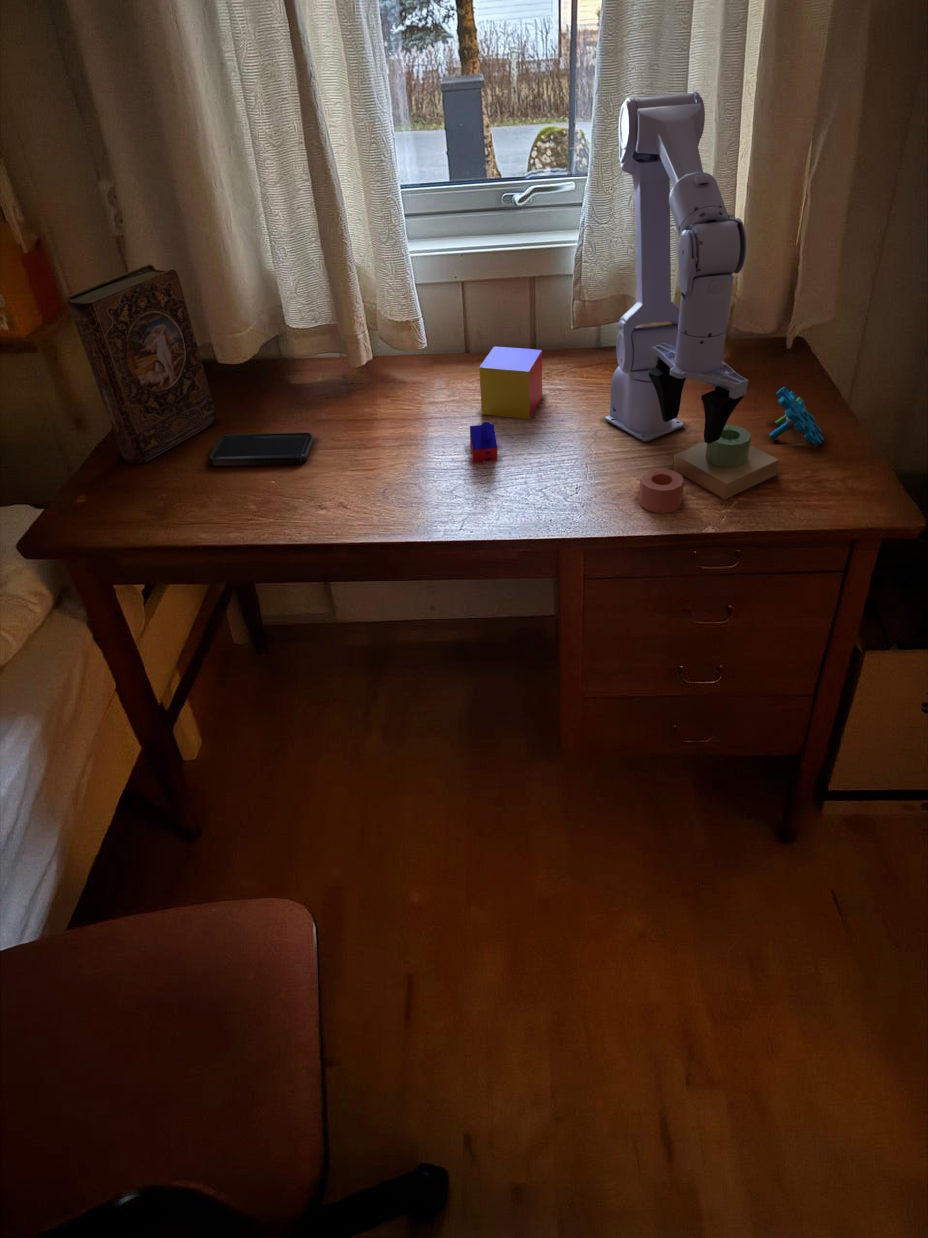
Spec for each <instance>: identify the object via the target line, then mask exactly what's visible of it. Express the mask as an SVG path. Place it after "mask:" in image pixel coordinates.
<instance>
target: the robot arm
mask: <svg viewBox="0 0 928 1238" xmlns="http://www.w3.org/2000/svg"><path fill="white" fill-rule="evenodd" d="M705 110H706V109H705V103H704V100H703V98H702V96H701V94H700V93H699V92H698V91H696V90H693V91H690V92H688V93H687V92H685V93H673V94H666V95H665V94H664V95H653V96H643V97H633V96H630V97H629V96H628V97H626V99H625V100H624V102H623V103H622V105H621V107H620V111H619V119H618V150H619V151H618V157H619V162H620V170H621V172H622V171H623V172H624V173H627V174H628V175H631V178H632V183H633V184H632V185H633V190H634V225H635V228H634V229H635V230H634V231H635V269H636V272H635V273H636V274H635V276H636V277H635V278H636V302H635V303H634V304H633V306H632V307H630V308H629V309H628V310H627V311H626V312H625V313H624V314H623V315H622V316H621V317H620V318H619V320H618V323H617V336H616V345H615V346H616V347H615V349H616V361H617V364H618V366H617V368H616V369H615V370H614V372H613V375H612V378H611V382H610V397H609V398H610V399H609V401H610V402H609V403H610V404H609V414H608V415H606V416H605V418H604V420H605V421H606V422H608V423H610V424H612V425H614V426H615V427H617V428H618V429H620V430H622V431H624V432H626V433H628V434H630V435H631V436H633V437H635V438H637V439H638V440H640V441H642V442H645V443H647V442H649V441H652V440H655V439H657V438H659V437H662V436H664V435H666V434H669V433H672V432H674V431H676V430H679V429H681V428H683V427H684V425H685V424H684V422H683V421H680V420H679V419H677V418H678V415H679V412H680V410H681V409H680V408H681V401H682V393H683V389H684V386H685V382H686V379H690V380H695V381H699V382H703V383H705V384H707V385H710V386H711V387H714V390H711V391H708V392H705V393H704V394H701V396H700V397H701V398H700V399H701V401H702V405H703V409H704V410H703V411H704V427H703V428H704V429H703V440H704V441H703V442H705V443H707V444H710V443H712V442H715V441H717V440H719V439H720V436H721V434H722V431H723V429H724V427H725V425H727V423H728V420H729V418H730V417H731V415H732V413H733V412H734V410H735V409H736V407H737V406H738V405H739V404H740V403H741V402H742V399H744V397H745V396H746V395H747V390H748V385H749V379H747V378H745V377H744V376H742V375H740V374H739V373H738V372H736V371H735V370H734V368H732V367H731V366H730V365H728V364H727V363H726V362H725V361H724V360H723V359H724V352H725V343H726V337H727V329H728V321H729V314H730V308H731V298H732V293H733V286H734V285H733V284H734V277H735V276H734V275H733V274H739V273H740V272H741V271H742V270H743V267H744V264H745V262H746V256H747V234H746V229H745V226H744V222H743V220H742V219H741V218H738V217H735V214H729V213H728V211H727V207H726V205H725V202H724V200H723V199H724V198H723V197H722V194H721V190H720V188H719V185H718V181H717V180H716V178H715V177H714V176H713V175H712V174H710V173H708V172H704V168H703V163H702V159H701V154H700V150H699V145H700V141H701V139H702V137H703V134H704V129H705V121H706V111H705ZM671 185H672V188H671ZM671 214H672V218H673V221H674V224H675V227H676V231H677V235H678V237H679V239H678V240H679V241H678V244H677V263H678V281H677V282H678V289H679V290H680V291H681V293H680V302H679V303H680V304H679V306H678V305H677V304H676V303H674V302H673V301H672V281H671V280H672V270H671V268H672V267H671V266H672V265H671V262H672V261H671V260H672V259H671V252H672V251H671ZM667 322H668V323H670V324H661V325H650V326H641V325H647V324H658V323H667ZM639 326H641V327H639Z"/></svg>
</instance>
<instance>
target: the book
mask: <svg viewBox="0 0 928 1238" xmlns="http://www.w3.org/2000/svg"><path fill="white" fill-rule="evenodd" d="M179 277H180V276H179V275H178V272H177V271H176V270H175V269H172V268H169V269H168V270H167V269H166V270H159V269H156V268H155V266H154V265H153V264H148V263H147V264H145V265H143V266H140V267H138V268H135V269H133V270H130V271H128V272H126V273H123V274H121V275H117V276H115V277H112V278H110V279H108V280H105V281H102V282H100V283H97V284H95V285H92V286H90V287H87V288H85V289H83V290H80V291H77V292H75V293H72V294H69V295H67V296H66V297H65V300H66V304H67V305H68V308H69V311H70V313H71V317H72V319H73V322H74V325H75V328H76V330H77V333H78V336H79V339H80V342H81V345H82V348H83V350H84V352H85V353H84V354H85V356H86V358H87V361H88V364H89V366H90V369H91V372H92V374H93V378H94V380H95V383H96V386H97V389H98V391H99V394H100V397H101V399H102V402H103V405H104V408H105V411H106V414H107V416H108V417H107V418H108V419H109V423H110V425H111V428H112V431H113V433H114V436H115V439H116V442H117V444H118V447H119V451H120V453H121V455H122V458H123V459H124V461H126V462H129V463H131V464H145V463H147V462H148V461H151V460H152V459H154V458H157V456H159V455H161V454H162V453H164V452H166V451H168V450H170V449H171V448H173V447H175V446H177V445H178V444H180V443H182V442H184V441H185V440H187V439H189V438H191V437H193V436H194V435H196V434H199V432H202V431H203V430H204V429H206V428H208V427H209V426H211V425H213V424H214V423H215V422H216V420H217V413H216V412H217V411H216V408H215V404H214V401H213V397H212V393H211V390H210V386H209V382H208V378H207V375H206V372H205V368H204V364H203V360H202V356H201V353H200V349H199V346H198V343H197V339H196V335H195V331H194V328H193V325H192V320H191V317H190V315H189V314H190V313H189V310H188V306H187V303H186V299H185V295H184V292H183V288H182V285H181V281H180V278H179Z"/></svg>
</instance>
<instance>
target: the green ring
mask: <svg viewBox="0 0 928 1238" xmlns="http://www.w3.org/2000/svg"><path fill="white" fill-rule="evenodd" d="M751 441H752V435H751V433H750V431H749V430H748V429H746V428H744V427H742V426H738V425H733V424H725V427H724V429H723V431H722V434H721V436H720V439H719V440H717V441H715V442H712V443H710V444H707V448H706V458H707V460H708V461H709V462H710V463H712V464H714V465H716V466H721V467H738V466H740V465H742V464H744V463H745V462H746V460H747V458H748V453H749V447H750V445H751Z"/></svg>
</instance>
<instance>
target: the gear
mask: <svg viewBox="0 0 928 1238" xmlns="http://www.w3.org/2000/svg"><path fill="white" fill-rule="evenodd" d="M776 396H778V398H779V399H778V403H779V405H780V406H781V407H782V408H783V409H784V410H785V411H784V415H783V416H781V417H780V418H778V419H777V420H776V421H775V424H776V425H777V426H779V425H780V426H779V427H777V428H776V429H774V430H773V431H771V432H770V433H769V434H768V435H769V438H770V439H771V440H773V441H774V440H775V439H777V438H778V437H780V436H781V435H782V434H784V433H786V432H787V431H789V429H790V428H791V429H796V431H797V432H798V433H799V434H800V433H802V432H803V433H804V435H803V437H804V439H805V440H806V442H808V443H809V444H810V443H812V444H813V446H815V447H819V446H821V445H822V442H824V441H825V438H824V436H822V434H821V433H822V430H821V429H822V428H821V427H820V426H818V425H817V423H815V422H816V419H815V417H814V415H813V414H812V413H809V411H808V409H807V407H806V405H805V401H804V400H803V397H801V396H798V397H797V395H796V394H795V393H794V392H793V391H792V390H791V391H789V389H788V387H786V386H783V387H781V388H780V389H778V391H776Z"/></svg>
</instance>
